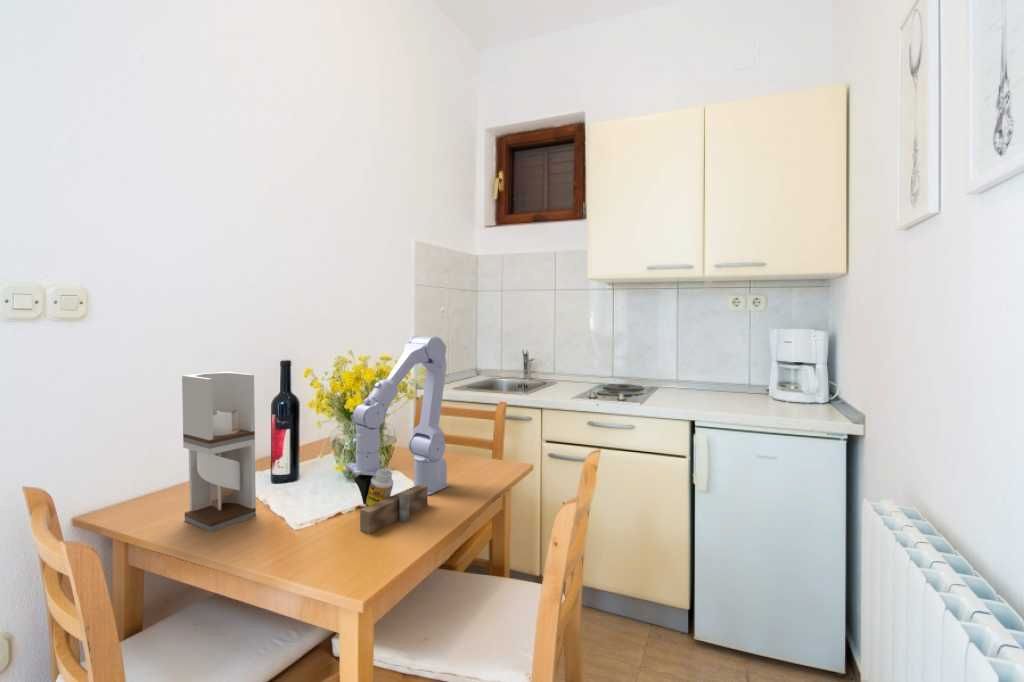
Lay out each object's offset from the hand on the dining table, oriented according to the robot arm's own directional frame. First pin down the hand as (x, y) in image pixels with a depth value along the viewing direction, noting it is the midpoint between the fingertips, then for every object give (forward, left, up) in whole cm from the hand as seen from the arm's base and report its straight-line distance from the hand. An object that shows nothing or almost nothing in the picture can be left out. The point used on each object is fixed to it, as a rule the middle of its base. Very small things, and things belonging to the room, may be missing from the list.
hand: (367, 503), depth 123 cm
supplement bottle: (0, +3, -1) cm, 3 cm away
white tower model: (+23, -26, -2) cm, 34 cm away
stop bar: (0, +11, -1) cm, 11 cm away
